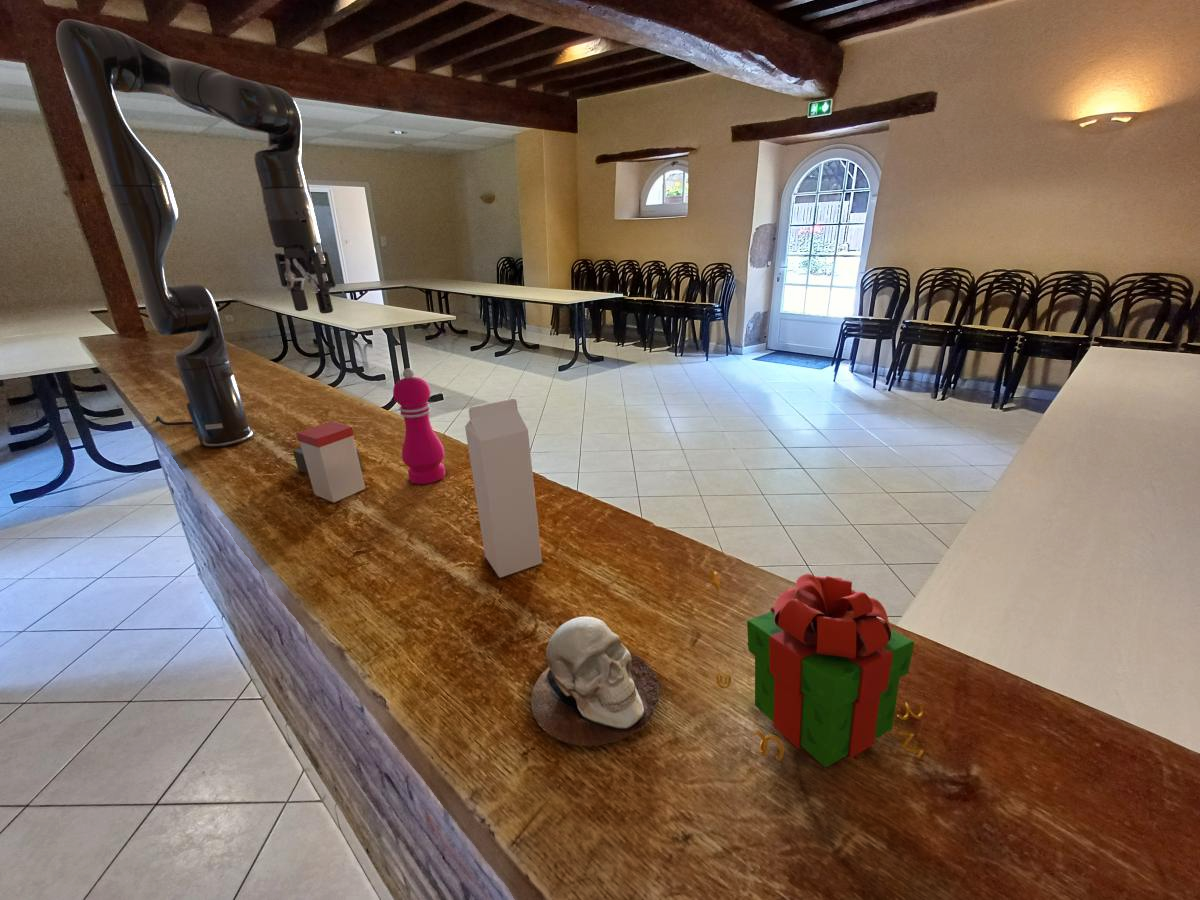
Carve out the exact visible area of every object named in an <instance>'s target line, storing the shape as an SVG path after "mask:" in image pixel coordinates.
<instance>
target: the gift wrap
mask: <svg viewBox="0 0 1200 900" xmlns="http://www.w3.org/2000/svg"><path fill="white" fill-rule="evenodd" d="M709 572H710V577H711V584H710V585H713V586H714V588H715V590H716V592H717V593H718V592H719V590H720V584H721V581H720V579H719V575H718V572H717V571H711V570H709ZM852 587H853V582H852V581H851V580H845V579H843V578H842V577H836V576H835V577H833V576H829V575H826V576H817V575H814V574H811V573H805V574H802V575H801V576H799V577H798V578H797V579H796V581H795V587H792V588H790V589H787V590H785V591H783V592H782V593H780V595H778V597H777V598H776V600H775V604H774V606H773V607H770V611H769V612H766V613H764V614H761V615H758V616H755V617H753V618H750V619H747V621H746V626H747V627H746V628H747V642H746V645H747V651H748V652H749V654H751V655H752V656H753V658H754V706H755V707H756V708H757V709H758V710H759V711H761V713H762V714H764V715H765V716H766V717H767V718H768V719H770V720H771V722H773V728H774V729H776V730H777V731H778V732H779V733H780V734H781V735H782V736H784V737H785V738H786V739H787V740H788V741H789V742H790V743H791V744H793V745H794V746H795V747H796V748H797V749H798V750H800V749H802V748H803V749H804V750H805V751H806V752H807V753H808V754H809V755H810V756H812V757H813V758H814V759H815V760H817V761H818V762H819V763H820V764H821V765H822V766H823V767H824V768H827V767H829V766H831V765H833V764H834V763H836V762H838V761H840V760H842V759H843V758H845V757H846V758H848V759H851V758H853V757H855V756H857V755H858V754H860V753H862V752H864V751H865V750H867V749H869V748H870V747H872V746H874V744H875V740H876V739H877V738H880V737H881V736H882V735H885V734H886V733H888V732H890V731H891V730H893V726H894V719H895V712H896V705H897V698H898V692H899V685H900V679H901V678H902V677H904V676H906V675H908V674H909V672H910V667H911V662H912V661H911V660H912V658H913V657H912V656H913V651H914V646H915V641H913V640H912V639H910V638H908V637H906V636H904V635H903V634H901V633H899V632H897V631H895V630H893V629H892V628H891V625H890V621H889V618H888V613H887V611H886V609H885V607H884V606H883V604H882V603H881V602H880V601H879V600H878V599H876V598H873V597H869V595H868V594H867V593H865V592H864V591H858V592H857V591H856V590H854V588H853V589H852ZM877 617H878V618H877ZM881 619H882V620H881ZM723 677H724V678H723ZM723 679H724V684H725V685H722V684H721V683H723ZM715 682H716V684H717V686H718V687H719V688H721V689H727V688H729V687H730V685H731V683H732V677H731V675H730V674H726V675H725V676H723V674H722V673H721V672H719V673H717V674H716V677H715ZM904 705H905V715H904V716H902V715H901V714H897V715H896V717H898V718H899V720H902V721H906V720H907V719H908V718H909V714H910V715H911V716H912V717H913V718H915V719H921V718H922V717H923V715H924V703H923V702H922V701H919V706H920V707H919V708H920V709H919V711H920V712H919V713H918V714H915V712H913V711H912V709H911V708H910V705H909V704H908V702H905V704H904ZM753 734H755V735H757V736H759V737H760V739H761V741H760V743H759V754H760V756H761V757H765V756H766V755H767V754H768V748H769V747H768V741H769V740H774V741H775V742H776V744H777V746H778V749H779V754H777V755H775V757H776V760H777V761H778V762H779V761H780V762H781V761H782V760H783V757H784V753H785V752H784V745H783V742H782V741H781V739H780V738H779V736H777V735H775V734H773V733H770V734H767V735H765V734H764V733H763V731H760V730H758V729H754V731H753ZM897 734H898V735H901V736H908V737H907V738H906V739H905V740H904V741H903V744H902V745H901V749H903V751H907V752H911V753H917V754H916V757H917V759H918V760H919V759H920V758H921V757H922V755H923V754H924V753H925V751H924V750H923V749H919V748H911V747H907V745H908V744H909V742H911V740H912V739H913V738H914V736H915V733H913V732H908V731H900V730H898V732H897Z"/></svg>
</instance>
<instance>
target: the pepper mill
mask: <svg viewBox="0 0 1200 900" xmlns="http://www.w3.org/2000/svg"><path fill="white" fill-rule="evenodd" d="M402 376H403V378H401V379H400V380H398V381H397V382H396V383H395V384H394V386H393V391H392V394H393V399H394V401H395V402H396V403H397V404H398V405H400V406H399V408H398V409H399V411H400V413H399V414H400V416H401V417H403V421H404V424H405V436H404V440H403V443H402V447H401V448H402V449H401V458H402V462H403V464H404V465H405V466H407V467H408V470H407V473H408V479H409V481H410V483H413V484H416V485H426V484H433V483H435V482H438V481H440V480H442V479H443V478H444V477H445V476H446V469H445V465H444V463H442V461H443V460H444V459H445V455H446V454H445V453H446V452H445V449H444V445H443V444H442V441H441V439H440V438H439V437H438V436H437V434H436V433H435V430H434V429H433V426H432V425H431V420H430V413H431V404H430V403H429V402H428V401H429V400H430V398H431V388H430V385H429V384H428V382H427V381H426V380H425V379H423V378H421V377H418V376H415V372H414V370H413V369H411V368H405V369H404V370H403V371H402Z"/></svg>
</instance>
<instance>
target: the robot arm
mask: <svg viewBox="0 0 1200 900" xmlns="http://www.w3.org/2000/svg"><path fill="white" fill-rule="evenodd" d="M55 39H56V46H57V51H58V55H59V58H60V60H61V63H62V66H63V69H64V71H65V73H66V76H67V78H68V81H69V83H70V85H71V87H72V90H73V92H74V95H75V97H76V99H77V102H78V103H79V106H80V108H81V111H82V113H83V115H84V117H85V120H86V123H87V125H88V128H89V130H90V133H91V135H92V138H93V141H94V144H95V147H96V149H97V152H98V156H99V158H100V161H101V164H102V168H103V172H104V175H105V179H106V182H107V185H108V188H109V191H110V194H111V197H112V200H113V203H114V206H115V209H116V211H117V214H118V218H119V219H120V222H121V224H122V228H123V230H124V233H125V237H126V240H127V242H128V245H129V248H130V251H131V252H130V253H131V255H132V258H133V262H134V266H135V269H136V275H137V278H138V279H137V280H138V282H139V287H140V291H141V295H142V299H143V302H144V307H145V310H146V313H147V315H148V318H149V320H150V322H151V324H152V327H154V329H155V330H156V331H157V332H158V333H159V334H160V335H162V336H167V337H169V336H171V337H172V336H179V335H185V334H190V333H196V337H195V338H194V340H193V341H192V342H191V343H190V344H189V345H188V346H186V347H184V348H183V349H180V350H179V351H178V352H176V353H175V354H174V357H173V359H174V363H175V365H176V368H177V371H178V374H179V376H180V380H181V382H182V385H183V387H184V391H185V393H186V396H187V399H188V402H187V403H186V407H187V410H188V413H189V416H190V419H191V421H173V422H172V421H171V422H170V421H164V420H163V419H162V417H161V416H159V415H157V416H156V417H155V422H159V423H160V424H162V425H164V426H186V425H187V426H188V425H189V426H192V425H193V428H194V431H195V433H196V437H197V439H198V441H199V444H200V445H203V446H204V447H205V448H222V447H229V446H233V445H236V444H241V443H243V442H245V441H248V440H249V439H251V438H252V437H253V436H254V432H253V431H252V428H251V425H250V421H249V418H248V416H247V412H246V409H245V406H244V403H243V399H242V396H241V393H240V390H239V386H238V384H237V380H236V377H235V374H234V371H233V368H232V365H231V362H230V357H229V354H228V348H227V342H226V340H225V335H224V332H223V327H222V325H221V320H220V315H219V311H218V307H217V305H216V302H215V300H214V298H213V295H212V294H211V292H210V291H209V290H208V288H206V287H205V286H204V285H202V284H199V283H189V284H182V285H181V284H180V285H171V286H167V283H166V276H165V262H166V256H167V252H168V249H169V247H170V245H171V242H172V239H173V236H174V234H175V232H176V229H177V225H178V222H179V215H180V214H179V209H178V205H177V201H176V197H175V194H174V190H173V187H172V183H171V181H170V178H169V176H168V174H167V172H166V171H165V169H164V167H163V166H162V164H161V163H160V162H159V160H157V158H156V157H155V156H154V155H153V154H152V152H150V150H149V149H148V148H147V147H146V145H144V143H143V142H142V141H141V140H140V139H139V138H138V136H137V134H135V132H134V131H133V130H132V128H131V126H130V125H129V123H128V121H126V119H125V116H124V114H123V112H122V109H121V107H120V105H119V102H118V99H117V97H116V94H115V92H120V93H125V94H126V93H127V94H133V93H139V94H140V93H141V94H154V95H162V96H166V97H170V98H172V99H174V100H176V102H178V103H179V104H182V105H183V106H185V107H188V108H189V109H192V110H194V111H197V112H200V113H203V114H206V115H209V116H212V117H216V118H219V119H223V120H225V121H226V122H228V123H230V124H233V125H235V126H236V127H240V128H242V129H245V130H249V131H252V132H258V133H263V134H267V148H264V149H260V150H258V151H255V153H254V156H253V161H254V167H255V171H256V175H257V178H258V182H259V185H260V189H261V196H262V203H263V209H264V212H265V216H266V219H267V224H268V227H269V232H270V235H271V239H272V243H273V245H274V247H276V248H283V252H278V253H274V258H275V262H276V267H277V271H278V276H279V279H280V284H281V286H282V287H283V288H287V290H288V291H289V292H290V294H291V298H292V302H293V307H294V310H295V311H296V312H304V311H308V310H309V305H308V301H307V296H306V292H305V290H304V285H305V284H304V283H305V281H306V282H307V283H309V284H310V285H311V287H312V288H313V290H314V291H315V297H316V303H317V306H318V310H319V313H320V314H323V315H324V314H325V315H326V314H330V313H333V312H334V308H333V304H332V303H333V302H332V298H331V295H330V291H331V290H332V288H335V287H336V280H335V277H334V272H333V268H332V265H331V262H330V257H329V254H328V252H327V251H316V248H315V246H319V245H320V244H321V242H322V241H321V237H320V232H319V228H318V224H317V219H316V215H315V210H314V206H313V203H312V199H311V197H310V194H309V191H308V187H307V182H306V179H305V178H306V177H305V174H304V170H303V166H302V136H303V135H302V133H303V132H302V131H303V130H302V128H303V127H302V125H303V124H302V118H301V113H300V110H299V108H298V105H297V103H296V101H295V99H294V98H293V97H292V95H291V94H290V93H289V92H288V91H286V90H285V89H283V88H281V87H278V86H274V85H270V84H266V83H263V82H262V83H261V82H258V81H254V80H251V79H247V78H243V77H238V76H234V75H232V74H229V73H227V72H225V71H223V70H221V69H217V68H214V67H211V66H207V65H204V64H201V63H197V62H194V61H190V60H187V59H186V60H185V59H182V58H176V57H173V56H169V55H168V54H165V53H162V52H160V51H158V50H156V49H154V48H152V47H150V46H149V45H147V44H145V43H143V42H141V41H139V40H137V39H135V38H134V37H131V36H130V35H128V34H126V33H124V32H122V31H119V30H117V29H115V28H110V27H106V26H102V25H99V24H94V23H89V22H86V21H81V20H77V19H70V18H67V19H63V20H60V22H59V23H58V24H57V27H56V33H55ZM326 277H327V278H326Z"/></svg>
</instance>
